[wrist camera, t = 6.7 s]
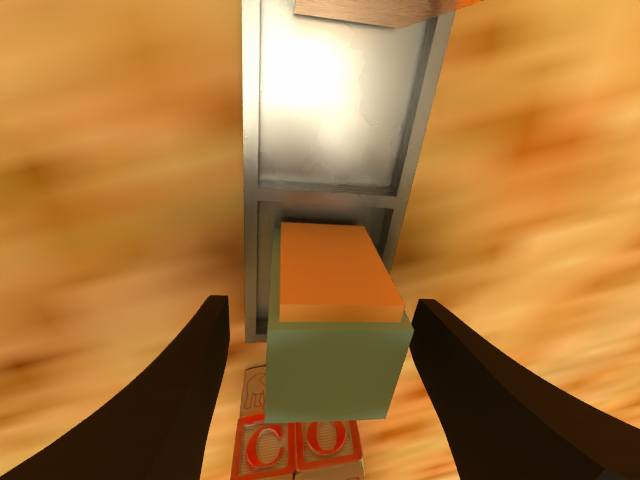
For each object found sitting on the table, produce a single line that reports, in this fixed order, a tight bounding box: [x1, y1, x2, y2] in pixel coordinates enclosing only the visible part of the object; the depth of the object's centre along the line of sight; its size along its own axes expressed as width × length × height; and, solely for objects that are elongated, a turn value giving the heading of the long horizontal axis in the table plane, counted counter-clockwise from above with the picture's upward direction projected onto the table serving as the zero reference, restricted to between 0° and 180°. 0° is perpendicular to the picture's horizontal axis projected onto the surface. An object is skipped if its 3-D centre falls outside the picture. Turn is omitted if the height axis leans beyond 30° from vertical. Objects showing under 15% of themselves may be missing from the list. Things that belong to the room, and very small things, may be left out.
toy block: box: [264, 222, 414, 424], centre depth 12 cm, size 4×5×6 cm
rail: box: [242, 0, 483, 343], centre depth 10 cm, size 6×19×7 cm, turn 174°
